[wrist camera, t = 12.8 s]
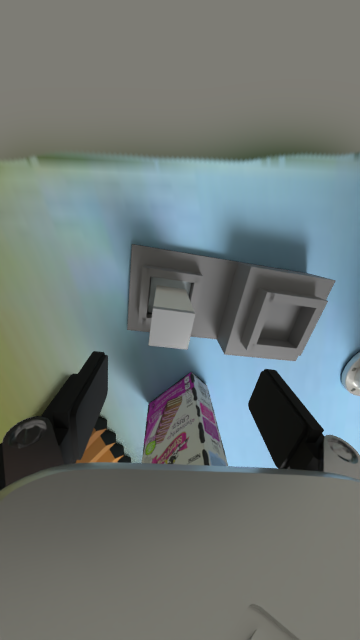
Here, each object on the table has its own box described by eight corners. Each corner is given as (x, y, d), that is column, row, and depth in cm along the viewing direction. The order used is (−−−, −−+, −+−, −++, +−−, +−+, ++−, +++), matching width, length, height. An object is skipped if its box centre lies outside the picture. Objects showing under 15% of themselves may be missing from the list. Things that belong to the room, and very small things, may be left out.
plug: (185, 289, 26) (195, 313, 18) (180, 315, 27) (187, 349, 19) (156, 285, 25) (152, 308, 17) (153, 312, 27) (148, 345, 19)
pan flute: (71, 377, 32) (13, 452, 39) (62, 392, 29) (-1, 471, 36) (180, 431, 40) (115, 486, 47) (181, 448, 37) (112, 504, 44)
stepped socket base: (306, 273, 27) (350, 284, 21) (277, 343, 32) (305, 370, 25) (132, 244, 24) (121, 246, 17) (128, 327, 28) (117, 353, 22)
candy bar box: (190, 369, 33) (211, 480, 18) (207, 384, 35) (240, 497, 20) (146, 403, 35) (132, 525, 20) (164, 415, 37) (164, 536, 22)
